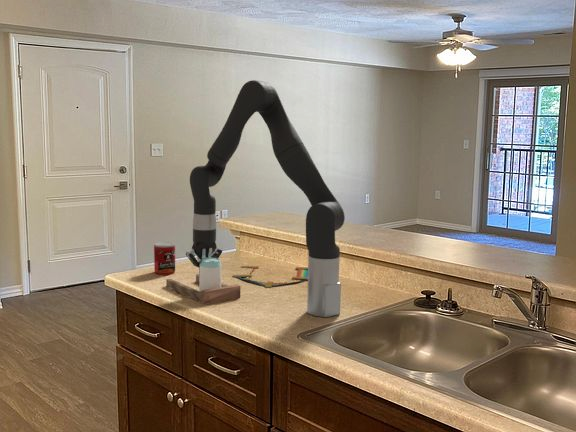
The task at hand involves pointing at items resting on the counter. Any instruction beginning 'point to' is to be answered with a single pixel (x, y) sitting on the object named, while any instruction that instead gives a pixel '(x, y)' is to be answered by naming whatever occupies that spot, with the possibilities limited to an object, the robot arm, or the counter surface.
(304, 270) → the ribbon cable
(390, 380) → the counter surface
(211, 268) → the can
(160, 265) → the canned food
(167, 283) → the channel
